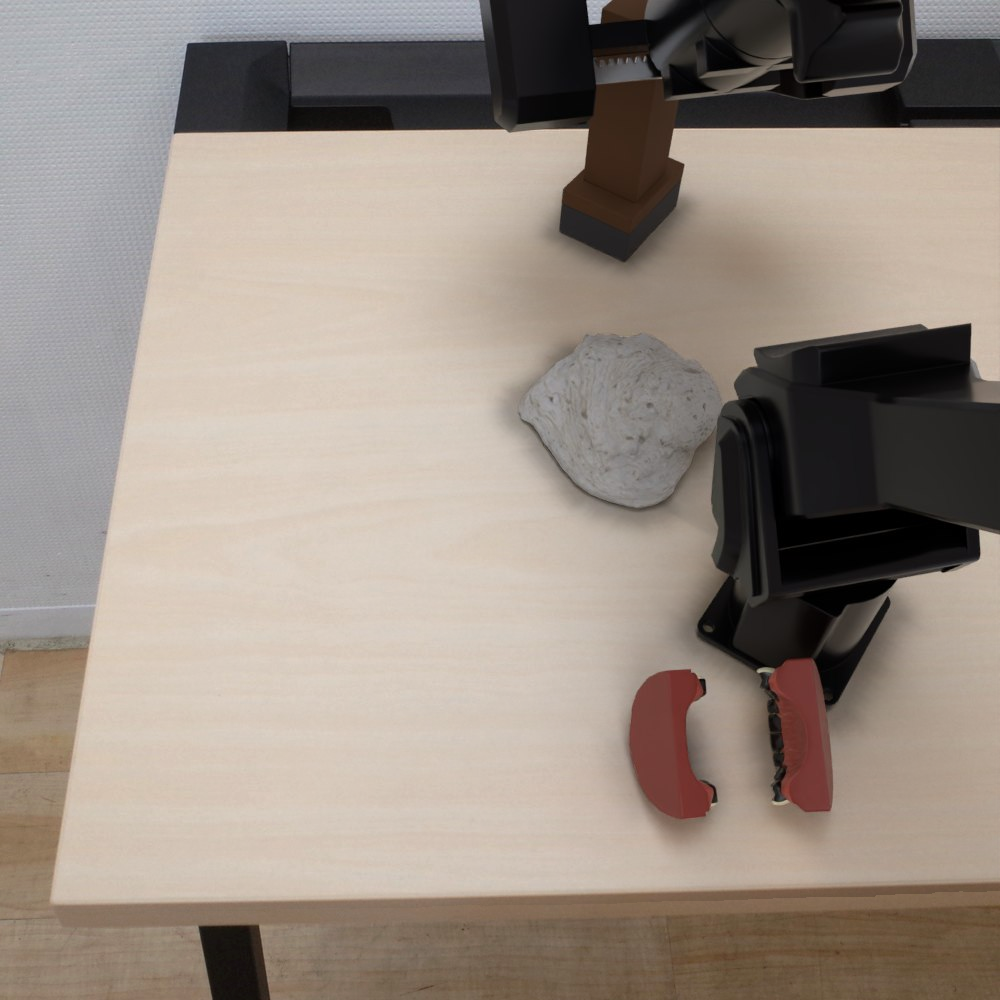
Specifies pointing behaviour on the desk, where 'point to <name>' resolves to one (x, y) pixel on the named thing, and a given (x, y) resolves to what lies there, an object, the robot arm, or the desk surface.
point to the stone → (624, 416)
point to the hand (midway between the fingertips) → (643, 78)
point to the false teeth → (796, 747)
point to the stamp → (624, 160)
